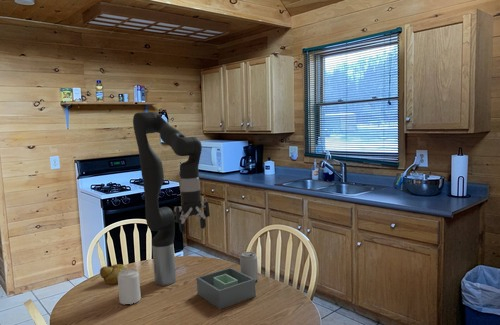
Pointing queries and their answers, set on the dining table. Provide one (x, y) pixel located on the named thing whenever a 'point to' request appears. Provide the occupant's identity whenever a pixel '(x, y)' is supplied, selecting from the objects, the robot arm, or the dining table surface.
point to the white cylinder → (129, 286)
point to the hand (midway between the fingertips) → (192, 230)
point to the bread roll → (111, 273)
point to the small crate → (224, 281)
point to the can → (249, 264)
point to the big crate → (229, 294)
